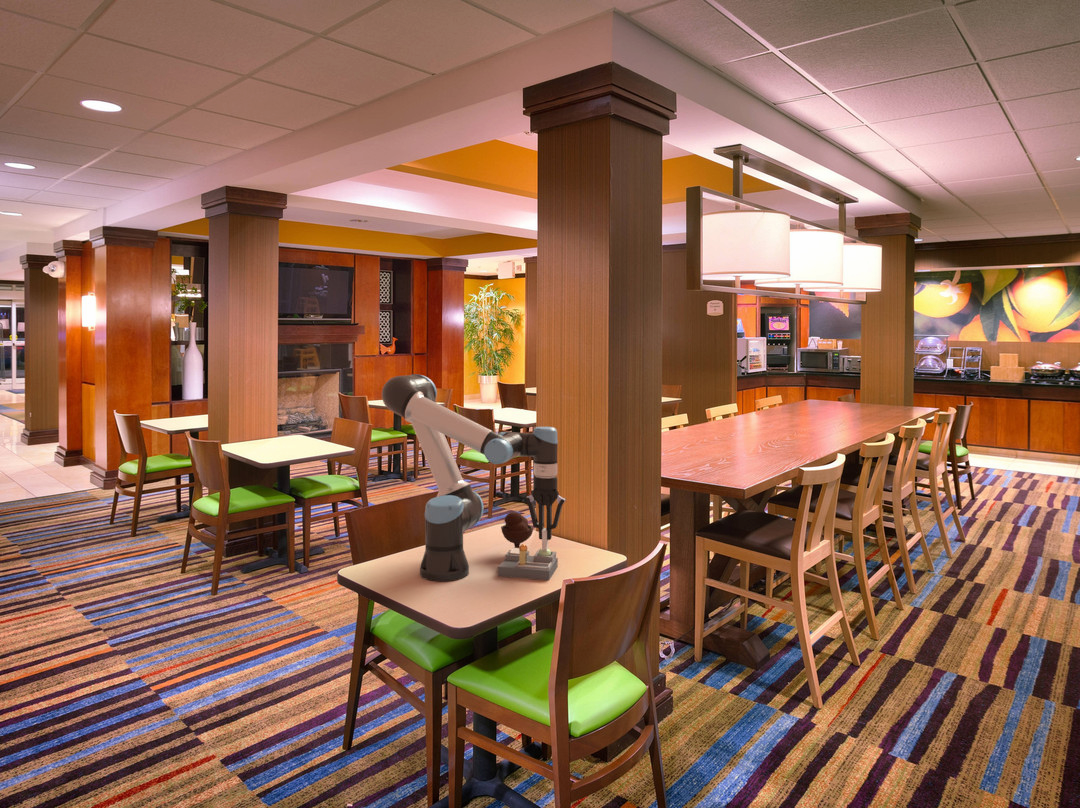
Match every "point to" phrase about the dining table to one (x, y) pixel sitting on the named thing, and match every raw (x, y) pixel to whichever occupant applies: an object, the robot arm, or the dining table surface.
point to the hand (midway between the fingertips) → (545, 549)
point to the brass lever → (523, 554)
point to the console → (529, 566)
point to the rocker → (514, 551)
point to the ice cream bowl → (516, 528)
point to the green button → (545, 552)
